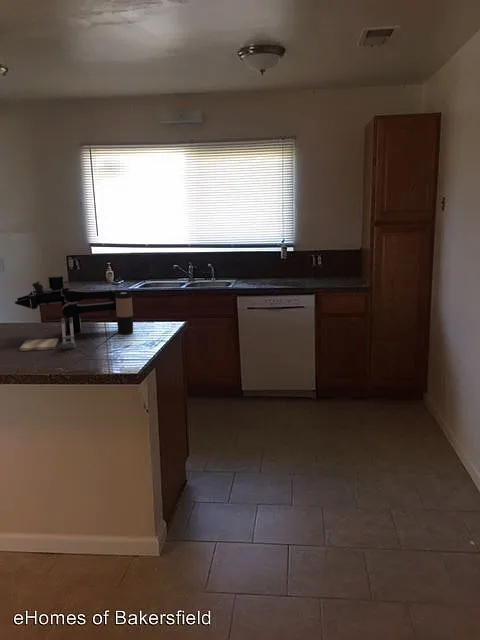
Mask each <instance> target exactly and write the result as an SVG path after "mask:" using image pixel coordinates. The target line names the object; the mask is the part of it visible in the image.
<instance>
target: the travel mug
mask: <svg viewBox="0 0 480 640" xmlns="http://www.w3.org/2000/svg"><path fill="white" fill-rule="evenodd" d="M115 293H116V311H115V312H116V313H115V314H116V323H117V325H116V326H117V333H118V335H125V336H127V335H132V334H134V312H133V299H132V298H133V297H132V292H131V291H130V290H124V291H123V290H121V291H116V292H115Z"/></svg>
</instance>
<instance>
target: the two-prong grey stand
mask: <svg viewBox="0 0 480 640" xmlns="http://www.w3.org/2000/svg"><path fill="white" fill-rule="evenodd" d="M69 322H70V332H69V333H70V335H66V321H65V317H61V318H60V323H61V333H62V337H61V339H62V343H61V349H62V350H67V349H75V348H76V347H77V345H76V340H75V335H74V332H73V319H72V317H70V318H69ZM68 339H69V341H67V340H68Z"/></svg>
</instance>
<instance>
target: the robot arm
mask: <svg viewBox="0 0 480 640" xmlns="http://www.w3.org/2000/svg"><path fill="white" fill-rule="evenodd" d="M47 279H48V287H49V289H51V291H48V290H45V288H44V286H43V284H42V283H41V281H40V280H37V281H35V282H33V283H32V284H31V285H32V287H33V288H34V290H32V291H30V293H29V294H27V295H23V296H20V297H17V298H16V299H17V300H16V301H14V304H15V305H18V306H22V307H25V308H28V309H31V310H36V309H38V307H39V306H41V305H48V306H49V305H51V304H60V303H61V307H62V311H61V312H62V315H63V316H65V318H66V321H65V331H66V332H67V333H70V322H69V318H70V317H72V319H73V333H79V332H82V330H83V329H82V322H81V321H82V320H81V317H80V315H81V314H87V313H97V312H98V313H99V312H107V311H113V312H116V292H115V291H114V290H113V289H111V288H109V289H101V290H100V289H98V290H82V289H81V290H80V289H77V288H69V287H67V286H64V285H65V284H64V276H63V275H51V276H47ZM65 299H66V300H65ZM93 299H94V300H95V299H110V300H111V301H109V302H108V301H107V302H98V303H96V302H95V303H86V304H79V303H78V302H80V301H83V300H93ZM67 302H68V303H67Z"/></svg>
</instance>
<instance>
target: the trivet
mask: <svg viewBox="0 0 480 640" xmlns="http://www.w3.org/2000/svg"><path fill="white" fill-rule="evenodd" d="M58 343H59V338H43V339H40V338H39V339H26V340H24V342H23V343H22V345H21V346H20V347H19V352H23V351H25V352H26V351H43V350H55V349H56V346H57V344H58Z"/></svg>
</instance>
